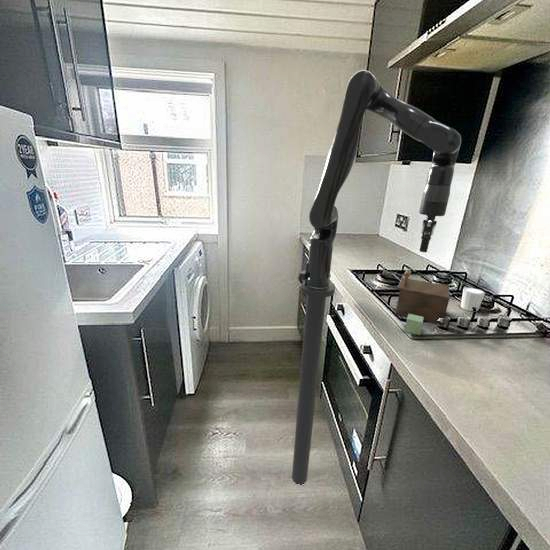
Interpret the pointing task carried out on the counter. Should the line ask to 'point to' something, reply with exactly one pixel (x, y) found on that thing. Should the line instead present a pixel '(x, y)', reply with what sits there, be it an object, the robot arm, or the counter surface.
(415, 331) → the block
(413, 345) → the counter surface
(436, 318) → the chest
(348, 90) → the robot arm
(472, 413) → the counter surface
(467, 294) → the white cup
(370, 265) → the counter surface
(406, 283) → the lid
